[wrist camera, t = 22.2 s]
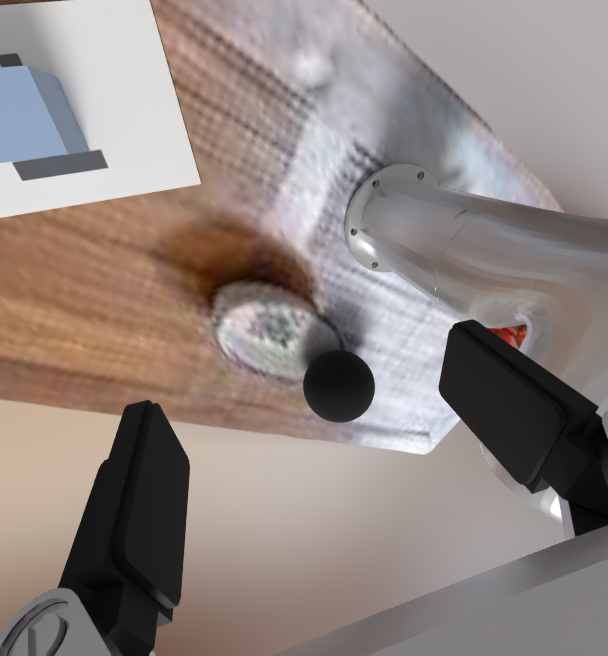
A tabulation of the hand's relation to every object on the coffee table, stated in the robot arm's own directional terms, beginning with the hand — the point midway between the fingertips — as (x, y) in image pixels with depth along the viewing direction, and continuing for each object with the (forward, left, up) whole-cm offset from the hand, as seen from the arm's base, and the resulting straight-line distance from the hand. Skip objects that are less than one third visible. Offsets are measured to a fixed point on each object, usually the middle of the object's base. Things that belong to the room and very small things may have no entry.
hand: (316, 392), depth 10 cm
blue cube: (+14, -10, -28) cm, 32 cm away
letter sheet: (+14, -10, -28) cm, 33 cm away
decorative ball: (-8, +24, -28) cm, 38 cm away
